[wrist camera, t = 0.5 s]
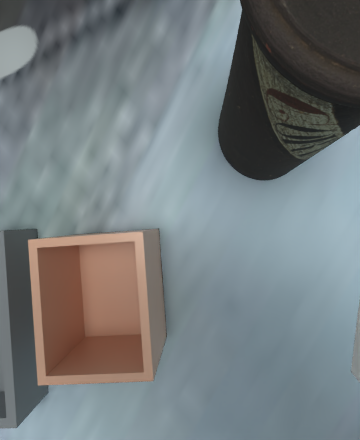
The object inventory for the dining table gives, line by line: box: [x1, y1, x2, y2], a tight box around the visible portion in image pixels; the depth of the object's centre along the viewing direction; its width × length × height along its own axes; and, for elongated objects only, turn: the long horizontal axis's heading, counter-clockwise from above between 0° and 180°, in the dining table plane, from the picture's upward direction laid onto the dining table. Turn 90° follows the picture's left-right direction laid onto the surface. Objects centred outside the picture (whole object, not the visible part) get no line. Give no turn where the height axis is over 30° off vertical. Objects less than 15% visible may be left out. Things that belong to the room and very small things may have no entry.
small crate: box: [28, 229, 167, 385], centre depth 25 cm, size 10×8×8 cm
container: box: [218, 0, 360, 180], centre depth 18 cm, size 9×9×20 cm
